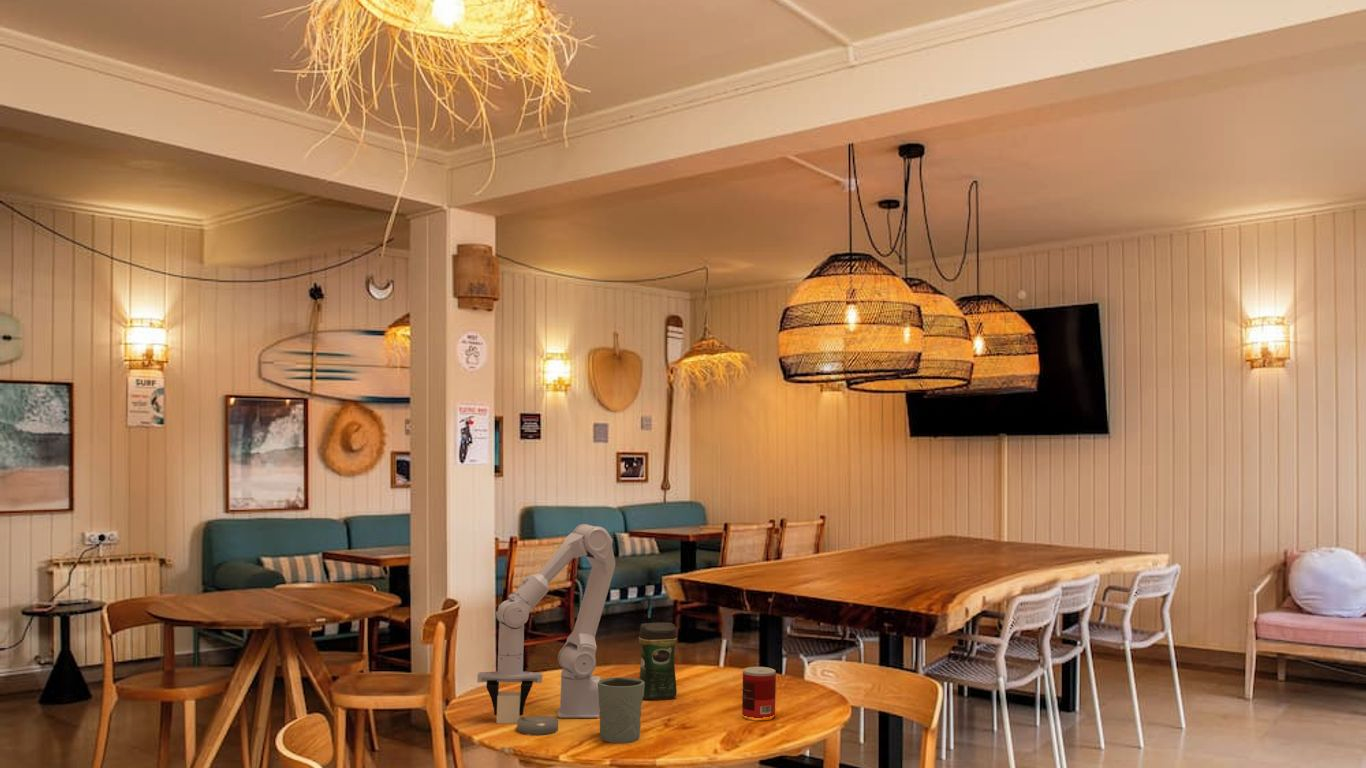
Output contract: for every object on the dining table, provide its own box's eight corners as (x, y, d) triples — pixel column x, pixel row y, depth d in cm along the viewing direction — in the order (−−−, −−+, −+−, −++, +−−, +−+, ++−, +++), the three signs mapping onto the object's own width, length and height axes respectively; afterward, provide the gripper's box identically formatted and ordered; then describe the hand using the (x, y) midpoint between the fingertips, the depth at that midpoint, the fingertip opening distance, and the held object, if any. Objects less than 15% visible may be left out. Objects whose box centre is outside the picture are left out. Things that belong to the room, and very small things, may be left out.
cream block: (520, 717, 245) (521, 691, 245) (518, 723, 240) (519, 696, 240) (498, 717, 244) (499, 691, 245) (496, 723, 239) (497, 696, 240)
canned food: (779, 715, 252) (780, 668, 253) (767, 723, 245) (768, 674, 246) (749, 711, 255) (750, 665, 256) (737, 718, 248) (737, 671, 249)
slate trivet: (558, 724, 239) (559, 715, 239) (557, 735, 230) (557, 725, 230) (518, 724, 239) (518, 715, 239) (515, 735, 230) (515, 725, 230)
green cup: (605, 745, 223) (606, 687, 224) (589, 733, 232) (591, 678, 233) (650, 741, 227) (651, 684, 228) (633, 729, 237) (634, 675, 237)
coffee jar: (670, 692, 274) (672, 619, 275) (679, 699, 266) (681, 624, 267) (634, 694, 271) (636, 620, 272) (641, 701, 263) (643, 625, 264)
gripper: (543, 650, 247) (541, 710, 247) (480, 650, 246) (478, 709, 245) (542, 656, 240) (540, 717, 240) (477, 656, 239) (475, 717, 238)
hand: (508, 714), depth 242 cm, fingers closed on cream block, 5 cm apart
